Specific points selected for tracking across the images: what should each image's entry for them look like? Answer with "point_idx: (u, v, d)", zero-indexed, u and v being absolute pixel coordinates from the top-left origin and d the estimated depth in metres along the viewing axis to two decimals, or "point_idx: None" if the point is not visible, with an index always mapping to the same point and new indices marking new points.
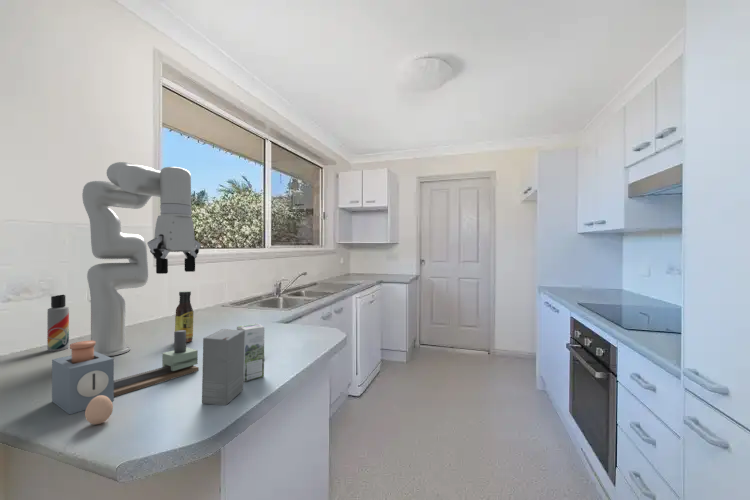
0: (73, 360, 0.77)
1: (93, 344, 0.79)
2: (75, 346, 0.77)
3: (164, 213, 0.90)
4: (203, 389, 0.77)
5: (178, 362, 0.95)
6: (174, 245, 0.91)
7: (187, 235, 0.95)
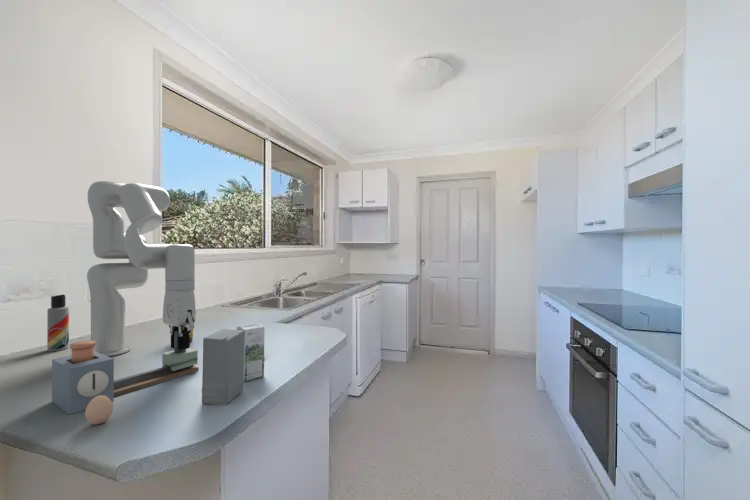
0: (73, 360, 0.77)
1: (93, 344, 0.79)
2: (75, 346, 0.77)
3: (186, 289, 0.96)
4: (203, 389, 0.77)
5: (178, 362, 0.95)
6: None
7: None
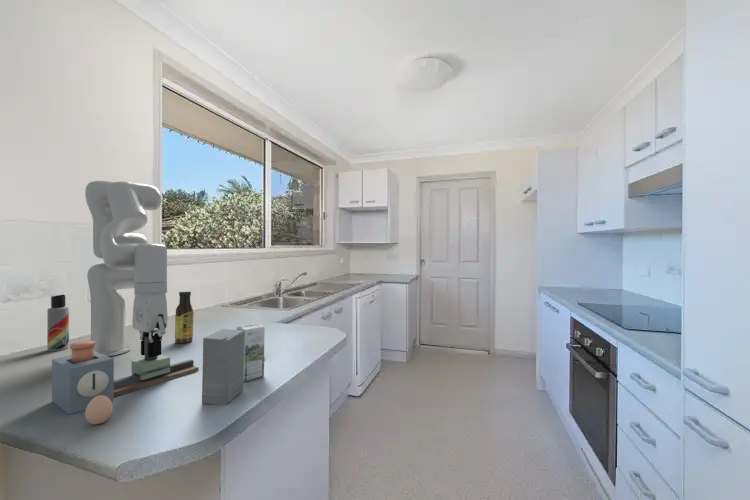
0: (73, 360, 0.77)
1: (93, 344, 0.79)
2: (75, 346, 0.77)
3: (157, 292, 0.89)
4: (203, 389, 0.77)
5: (148, 370, 0.88)
6: None
7: None
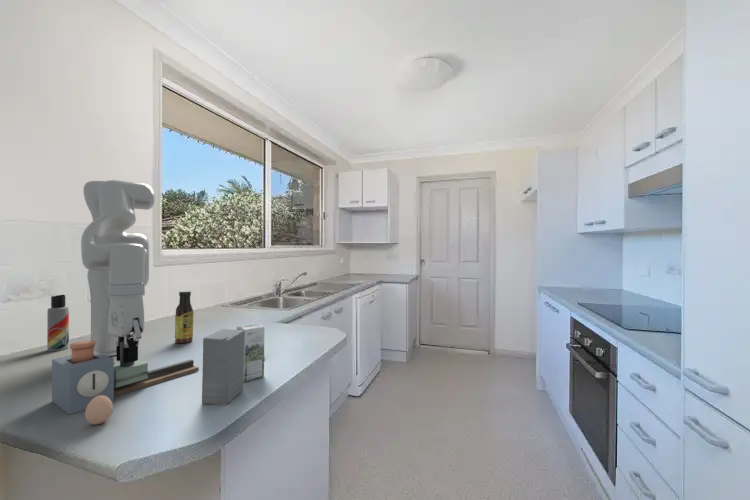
0: (73, 360, 0.77)
1: (93, 344, 0.79)
2: (75, 346, 0.77)
3: (132, 294, 0.85)
4: (203, 389, 0.77)
5: (123, 377, 0.83)
6: None
7: None
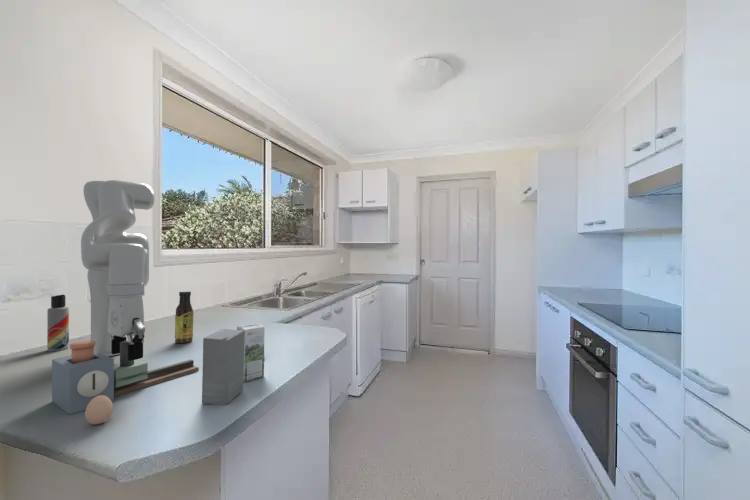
0: (73, 360, 0.77)
1: (93, 344, 0.79)
2: (75, 346, 0.77)
3: (132, 294, 0.85)
4: (203, 389, 0.77)
5: (123, 377, 0.83)
6: None
7: None
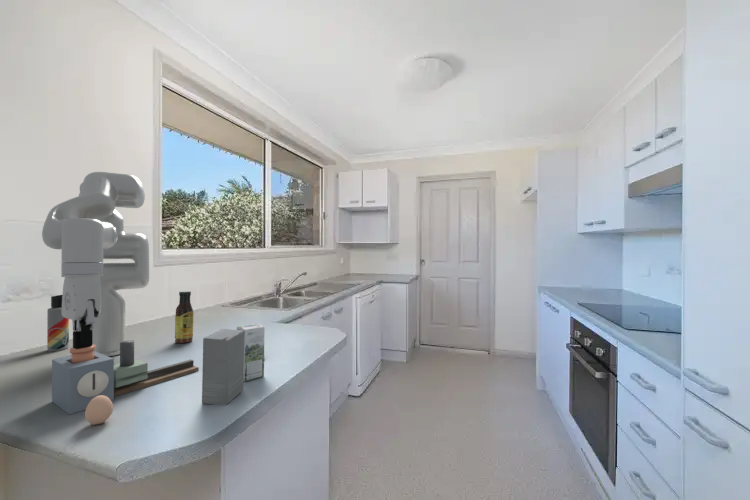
0: None
1: (93, 348, 0.79)
2: (75, 350, 0.77)
3: (87, 274, 0.77)
4: (203, 389, 0.77)
5: (123, 377, 0.83)
6: None
7: None
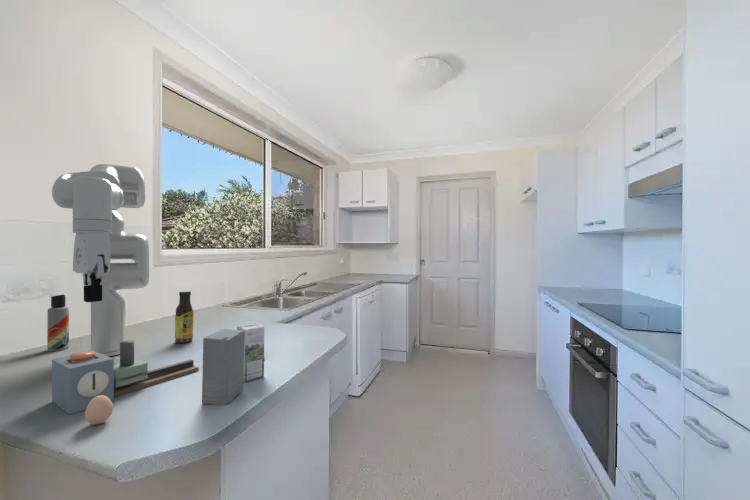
0: None
1: (93, 355, 0.79)
2: (75, 357, 0.77)
3: (97, 230, 0.80)
4: (203, 389, 0.77)
5: (123, 377, 0.83)
6: None
7: None
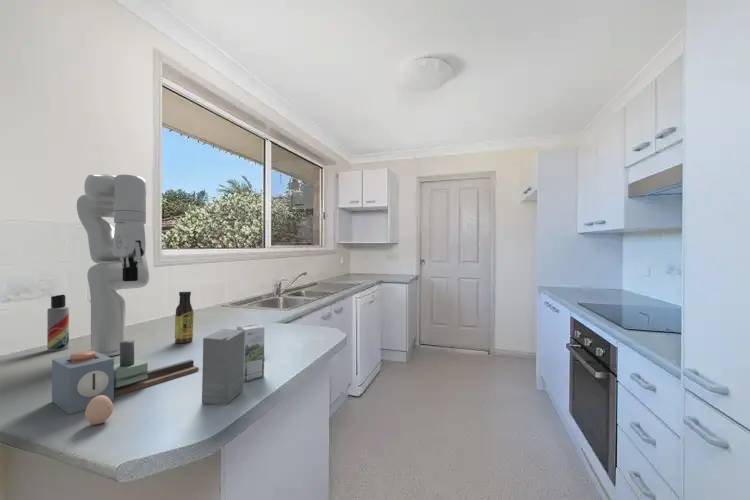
0: None
1: (93, 355, 0.79)
2: (75, 357, 0.77)
3: (135, 220, 0.95)
4: (203, 389, 0.77)
5: (123, 377, 0.83)
6: None
7: None
